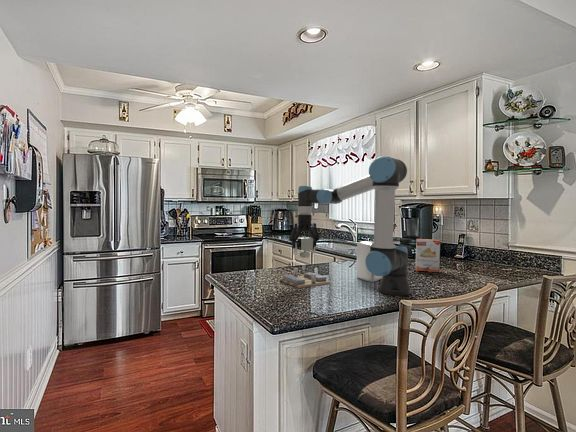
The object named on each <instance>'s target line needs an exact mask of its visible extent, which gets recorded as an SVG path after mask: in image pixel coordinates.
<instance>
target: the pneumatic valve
mask: <svg viewBox="0 0 576 432" xmlns="http://www.w3.org/2000/svg"><path fill="white" fill-rule="evenodd" d="M296 243H297V251H298V250H299V251H300V253H299V257H300V258H302V259H308V258H310V255H311V253H310V252H309V250H311V249H314V247H315V246H316V247H317V241H315V240H314V238H311V236H310V237H309V236H308V237H307V236H306V235H303V237H298V239H297V241H296ZM316 247H315V248H316Z"/></svg>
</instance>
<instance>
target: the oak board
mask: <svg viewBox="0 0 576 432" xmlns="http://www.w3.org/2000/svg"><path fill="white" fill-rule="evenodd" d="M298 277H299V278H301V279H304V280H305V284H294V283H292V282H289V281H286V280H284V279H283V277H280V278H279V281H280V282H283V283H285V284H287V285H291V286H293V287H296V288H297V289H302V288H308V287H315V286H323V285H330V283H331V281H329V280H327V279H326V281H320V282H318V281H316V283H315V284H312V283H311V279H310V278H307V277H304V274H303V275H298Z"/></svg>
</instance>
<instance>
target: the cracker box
mask: <svg viewBox="0 0 576 432" xmlns="http://www.w3.org/2000/svg"><path fill="white" fill-rule="evenodd" d="M415 241H416V246H415V271H416V272H418V271H428V272H427V273H432V272H439V273H440V257H441V254H440V253H441V240H440V239H429V238H428V239H427V238H424V239H423V238H416V239H415Z"/></svg>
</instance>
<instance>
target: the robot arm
mask: <svg viewBox="0 0 576 432" xmlns="http://www.w3.org/2000/svg"><path fill="white" fill-rule="evenodd" d="M407 174H408V167H407V165H406V163H405V162H404V161H402V160H401V159H398V158H395V157H391V156H379V157H376V158H375V159H374V160H372V162H371V163H370V164H369V168H368V175H366V176H364V177H361V178H359V179H357V180H354V181H351V182H349V183H347V184H344V185H342V186H341V185H340V186H339V187H336V188H334V189H328V188H320V189H317V188H316V189H313V187H312V186H311V185H301V186H298V189H297V190H298V192H297V203H298V205H297V206H298V207H297V213H298V214H297V221H298V222H297V223H293V224H292V229H291V233H290V236H289V239H288V241H289V242H291V243H292V244H291V248H292V250H293V251H292V254H293V255H297V254H298V249H297V243H296V241H297V239H298V238H300V235H301V234H302V233H303V232H308V235H309V236H310V237H311V238H314V240H315V241H316V242H318V241H320V236H319V232H318V229H317V223H315V222H312V217H313V216H312V212H313V211H312V210H313V209H312V208H313V207H312V206H313V204H324V205H325V204H326V205H327V204H328V205H330V204H334V205H337V204H340V203H342V202H343V201H345V200H348V199H350V198H353V197H357V196H358V195H362V194H365V193H367V192H370V191H375V197H374V200H375V201H374V222H373V225H374V226H373V228H374V229H373V243H372V244H371V245H370V253H369V254H368V255H367V256H366V259H365V264H366V267H367V269H368V270H369V271H370V273H372V274H373V275H375V276H382V279H380V282H379V285H378V292H379V293H381V294H383V295H388V296H397V297H403V296H404V295H405V296H409V295H411V294H412V289H411V287H410V283H409V279H408V266H409V265H408V261H409V258H408V257H409V253H408V248H407V246H399V245H395V244H394V223H395V204H396V203H395V199H396V190H398V189H399V187H400V183H402V182H403V181H404V180H405V179H406V177H407ZM316 247H317V245H316V246H315V247H314V249H310V251H311V253H310V254H316Z"/></svg>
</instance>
